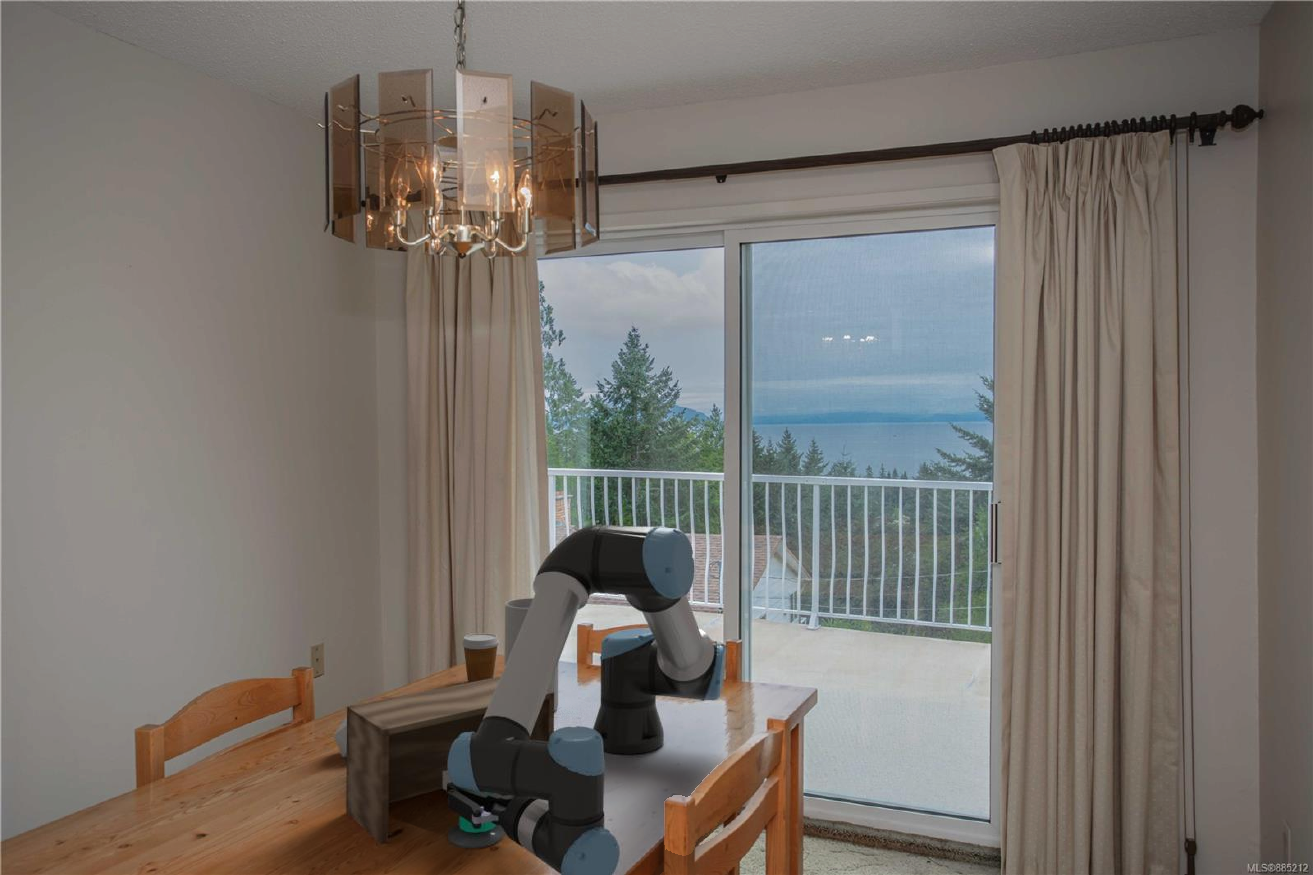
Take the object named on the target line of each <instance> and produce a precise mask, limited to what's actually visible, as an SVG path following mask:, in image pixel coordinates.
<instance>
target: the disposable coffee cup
mask: <svg viewBox="0 0 1313 875" xmlns="http://www.w3.org/2000/svg"><path fill="white" fill-rule="evenodd" d="M499 643H500V640H499V637H498V635H497V634H494V633H490V632H489V633H488V632H487V633H486V632H481V633H480V632H479V633H478V632H477V633H471V634H467V635H465V636H464V637H463V639H462V642H461V645H462V647H463V650H464V660H465V662H464V663H465V670H466V676H467V683H470V682H475V681H481V680H486V679H491V678H494V675H495V668H496V667H495V666H496V659H497V652H498V646H499Z"/></svg>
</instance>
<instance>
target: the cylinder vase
mask: <svg viewBox="0 0 1313 875" xmlns="http://www.w3.org/2000/svg"><path fill="white" fill-rule="evenodd" d="M533 598H534V597H532V598H531V597H530V598H516V599H511V600H508V601H505V603H504V666H505V665H506V663H507V660H508V658H509V656H510V653H511V651H512V648H513V646H514V644H515V641H516V639H517V636H518V634H519V632H520V629H521V627H522V624H523V622H524V620H525V617H526V615H527V612H528V610H529V608H530V605H531V603H532V600H533ZM548 690H550V691H552V692H554V712H556V711H557V710H558V707H559V662H558V664H557V667H556V670H555V672H554V675H553V678H552V680H551V683H550V686H549V688H548Z"/></svg>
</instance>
